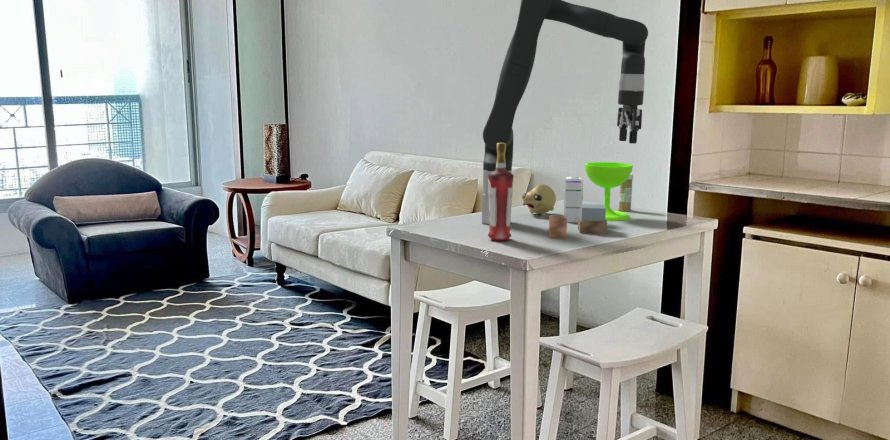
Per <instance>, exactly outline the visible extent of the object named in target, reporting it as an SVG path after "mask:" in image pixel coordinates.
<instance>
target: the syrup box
mask: <svg viewBox="0 0 890 440" xmlns="http://www.w3.org/2000/svg"><path fill="white" fill-rule="evenodd" d="M583 179H584V178H583V177H582V176H567V177H566V176H565V179H564V203H563V204H564V205H563V206H564V210H563V213H564V215H563V216H567V223H569V224H570V223H575V224H578V217H580V210H581V204H583V198H584V197H583V196H584V194H583V190H584V189H583V187H584V185H583V183H584V181H583Z"/></svg>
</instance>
